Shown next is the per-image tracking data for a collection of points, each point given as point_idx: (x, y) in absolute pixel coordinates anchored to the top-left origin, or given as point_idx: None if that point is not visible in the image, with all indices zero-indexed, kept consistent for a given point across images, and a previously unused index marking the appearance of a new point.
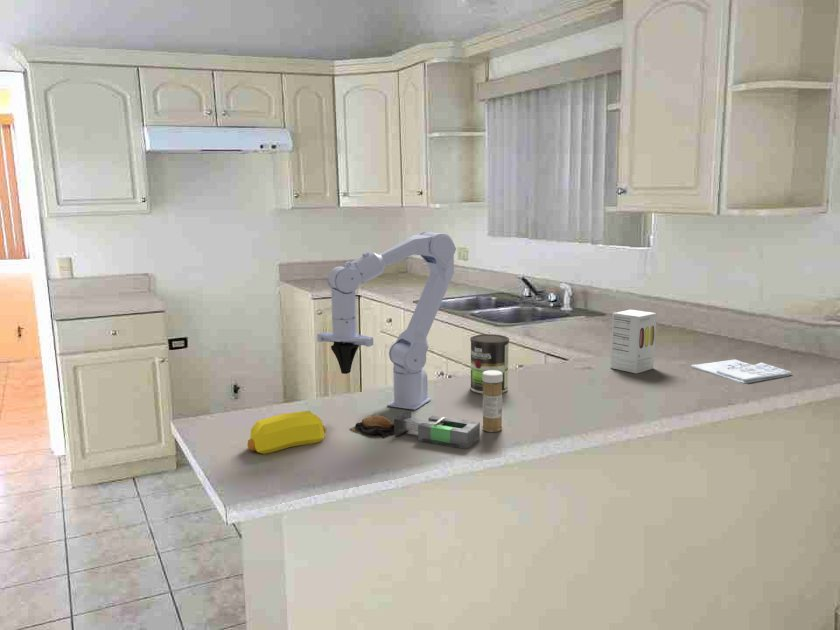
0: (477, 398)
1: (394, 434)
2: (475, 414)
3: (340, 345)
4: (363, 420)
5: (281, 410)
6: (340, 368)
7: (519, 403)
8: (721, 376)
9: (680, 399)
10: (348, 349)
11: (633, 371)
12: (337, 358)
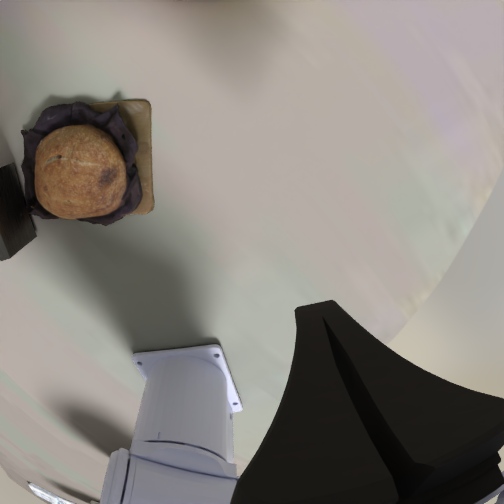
0: (117, 438)
1: (12, 163)
2: (41, 377)
3: (417, 497)
4: (94, 137)
5: (475, 140)
6: (346, 315)
7: (59, 432)
8: (50, 492)
9: (8, 455)
10: (232, 502)
11: (93, 502)
12: (398, 361)
